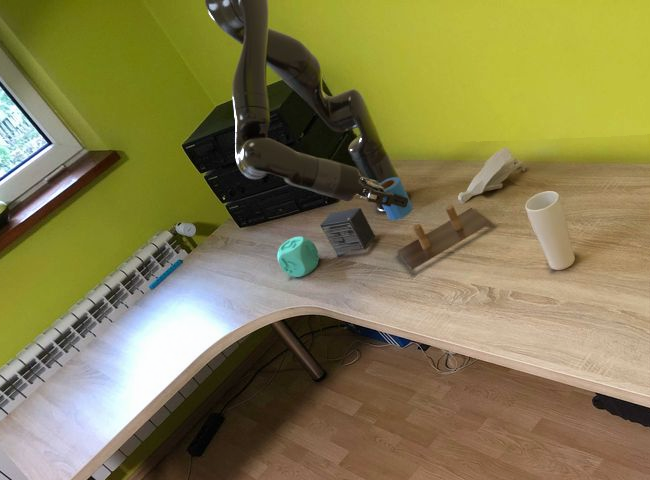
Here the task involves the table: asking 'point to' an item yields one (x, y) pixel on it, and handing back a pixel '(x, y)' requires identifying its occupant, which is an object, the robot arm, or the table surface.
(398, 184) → the tape roll
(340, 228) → the small box
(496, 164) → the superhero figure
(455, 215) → the tape rack
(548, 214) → the drinking glass
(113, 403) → the table surface
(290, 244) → the decorative dice
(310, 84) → the robot arm
